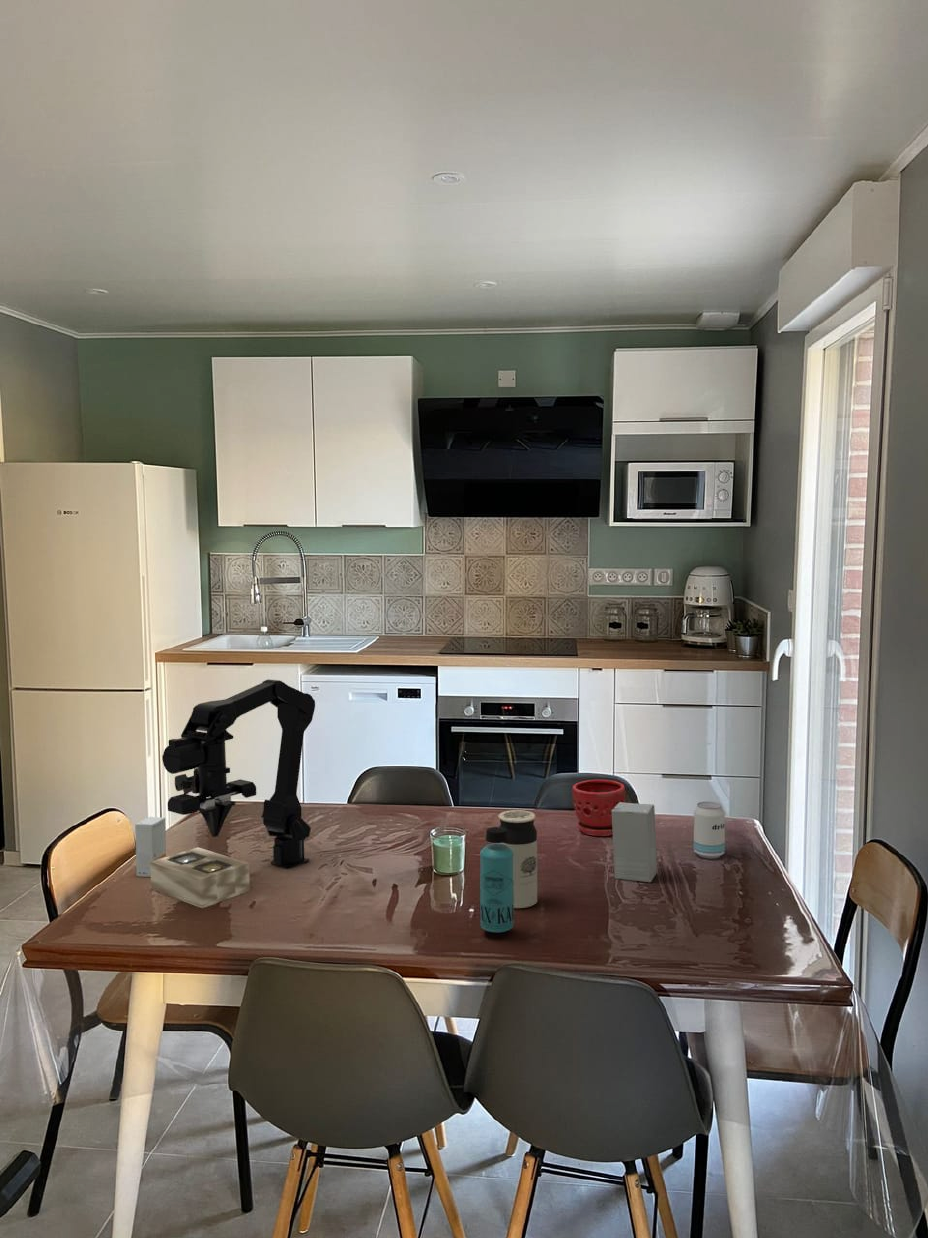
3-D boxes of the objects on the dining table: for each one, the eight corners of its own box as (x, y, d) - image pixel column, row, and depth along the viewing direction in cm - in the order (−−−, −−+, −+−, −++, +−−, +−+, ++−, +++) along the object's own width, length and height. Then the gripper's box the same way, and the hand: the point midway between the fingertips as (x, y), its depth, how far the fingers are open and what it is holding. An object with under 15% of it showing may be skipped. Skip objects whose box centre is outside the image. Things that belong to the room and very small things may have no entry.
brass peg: (215, 885, 197) (214, 862, 196) (226, 890, 194) (226, 866, 194) (199, 891, 194) (198, 868, 193) (210, 895, 191) (210, 872, 191)
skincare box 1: (153, 878, 205) (151, 825, 204) (136, 876, 205) (134, 824, 205) (167, 868, 211) (165, 817, 210) (150, 867, 211) (148, 816, 211)
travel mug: (491, 898, 190) (490, 812, 189) (526, 892, 193) (525, 807, 192) (508, 912, 183) (507, 822, 181) (544, 905, 186) (543, 817, 184)
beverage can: (713, 862, 210) (713, 810, 209) (687, 855, 215) (688, 804, 214) (730, 855, 214) (730, 805, 214) (704, 848, 220) (705, 799, 219)
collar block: (198, 873, 207) (197, 847, 207) (249, 891, 196) (248, 863, 195) (151, 889, 198) (150, 861, 197) (201, 908, 186) (200, 879, 186)
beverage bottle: (478, 927, 175) (476, 824, 174) (512, 925, 176) (511, 822, 174) (481, 941, 169) (480, 834, 167) (517, 940, 169) (516, 833, 168)
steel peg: (190, 877, 202) (189, 854, 202) (201, 880, 200) (200, 858, 199) (174, 882, 199) (173, 859, 199) (185, 886, 197) (184, 863, 196)
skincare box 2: (657, 874, 203) (657, 803, 202) (649, 885, 196) (649, 812, 195) (619, 869, 206) (619, 799, 205) (611, 879, 200) (610, 807, 199)
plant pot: (588, 821, 243) (587, 776, 243) (633, 829, 236) (633, 783, 235) (563, 833, 233) (563, 786, 232) (610, 842, 225) (610, 794, 224)
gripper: (224, 750, 206) (227, 819, 207) (150, 767, 191) (153, 841, 193) (256, 757, 199) (259, 828, 200) (182, 774, 184) (185, 851, 186)
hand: (214, 836), depth 195 cm, fingers closed
